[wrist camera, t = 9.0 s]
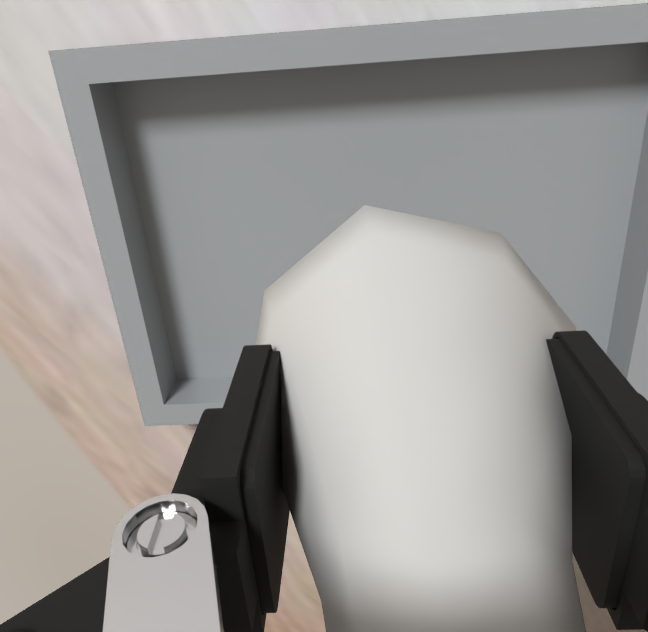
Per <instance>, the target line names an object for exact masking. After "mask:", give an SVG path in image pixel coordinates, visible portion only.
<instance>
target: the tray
mask: <svg viewBox="0 0 648 632" xmlns="http://www.w3.org/2000/svg"><path fill="white" fill-rule="evenodd" d="M49 55H50V59H51V63H52V67H53V70H54V74H55V78H56V82H57V86H58V90H59V94H60V98H61V102H62V106H63V109H64V113H65V117H66V121H67V125H68V129H69V133H70V137H71V141H72V144H73V148H74V152H75V156H76V160H77V164H78V168H79V172H80V176H81V180H82V183H83V187H84V191H85V195H86V199H87V203H88V207H89V211H90V215H91V219H92V222H93V226H94V230H95V234H96V238H97V242H98V246H99V250H100V254H101V258H102V261H103V265H104V269H105V273H106V277H107V281H108V285H109V289H110V293H111V296H112V300H113V304H114V308H115V312H116V316H117V320H118V324H119V328H120V332H121V335H122V339H123V343H124V347H125V351H126V355H127V359H128V363H129V367H130V371H131V374H132V378H133V382H134V386H135V390H136V394H137V398H138V402H139V406H140V409H141V413H142V417H143V421H144V425H145V426H158V425H186V424H198V423H199V421H200V418H201V415H202V413H203V412H204V410H205V409H208V408H223V406H224V403H225V400H226V397H227V394H228V391H229V388H230V385H231V382H232V379H233V376H234V373H235V370H236V367H237V364H238V361H239V358H240V355H241V352H242V349H243V347H244V346H245V345H255V344H256V338H257V332H258V326H259V320H260V314H261V308H262V302H263V295H264V290H266V289H267V288H268V287H269V286H270V285H271V284H273V283H274V282H275V281H276V280H277V279H278V278H280V277H281V276H282V275H283V274H284V273H285V272H287V271H288V270H289V269H290V268H291V267H293V266H294V265H295V264H296V263H297V262H298V261H300V260H301V259H302V258H303V257H304V256H305V255H307V254H308V253H309V252H310V251H311V250H312V249H314V248H315V247H316V246H317V245H318V244H320V243H321V242H322V241H323V240H324V239H325V238H327V237H328V236H329V235H330V234H331V233H332V232H334V231H335V230H336V229H337V228H338V227H339V226H341V225H342V224H343V223H344V222H345V221H347V220H348V219H349V218H350V217H351V216H352V215H354V214H355V213H356V212H357V211H358V210H359V209H361V208H362V207H363V206H364V205H367V206H372V207H377V208H382V209H387V210H392V211H397V212H401V213H406V214H411V215H416V216H421V217H426V218H431V219H436V220H441V221H446V222H450V223H455V224H460V225H465V226H470V227H475V228H480V229H485V230H490V231H495V232H499V233H502V235H503V236H504V237H505V238H506V240H507V241H508V242H509V243H510V245H511V246H512V247H513V248H514V250H515V251H516V252H517V253H518V255H519V256H520V257H521V258H522V260H523V261H524V262H525V263H526V265H527V266H528V267H529V268H530V270H531V271H532V272H533V274H534V275H535V276H536V277H537V279H538V280H539V281H540V282H541V284H542V285H543V286H544V287H545V289H546V290H547V291H548V292H549V294H550V295H551V296H552V297H553V299H554V300H555V301H556V302H557V304H558V305H559V306H560V308H561V309H562V310H563V311H564V313H565V314H566V315H567V316H568V318H569V319H570V320H571V321H572V323H573V324H574V325H575V326H576V331H582V330H586V331H587V332H588V333H589V334H590V335H591V337H592V338H593V339H594V340H595V341H596V343H597V344H598V345H599V346H600V348H601V349H602V350H603V351H604V352H605V354H606V355H607V356H608V357H609V359H610V360H611V361H612V362H613V363H614V365H615V366H616V367H617V368H618V369H619V371H620V372H621V373H622V374H623V376H624V377H625V378H626V379H627V380H628V382H629V383H630V384H631V385H632V387H633V388H634V389H635V390H636V391H637V393H639V394H641V395H642V396H643V397H645V398H646V400H647V401H648V3H645V4H632V5H620V6H607V7H594V8H582V9H569V10H557V11H544V12H532V13H519V14H506V15H494V16H481V17H469V18H456V19H444V20H431V21H419V22H406V23H393V24H381V25H368V26H356V27H343V28H331V29H318V30H305V31H293V32H280V33H268V34H255V35H243V36H230V37H217V38H205V39H192V40H180V41H167V42H155V43H142V44H130V45H117V46H104V47H92V48H79V49H67V50H54V51H49Z"/></svg>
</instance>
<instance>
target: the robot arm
mask: <svg viewBox="0 0 648 632" xmlns="http://www.w3.org/2000/svg"><path fill="white" fill-rule="evenodd" d="M546 342H547V346H548V350H549V353H550V357H551V361H552V365H553V368H554V372H555V376H556V379H557V383H558V387H559V391H560V394H561V398H562V402H563V406H564V409H565V413H566V417H567V421H568V424H569V428H570V431H571V435H572V551H573V554H574V556H575V558H576V561H577V563H578V565H579V567H580V570H581V572H582V574H583V577H584V579H585V581H586V583H587V586H588V588H589V590H590V592H591V595H592V597H593V599H594V601H595V603H596V605H597V606H598V607H600V608H607V609H608V611H609V614H610V616H611V618H612V620H613V622H614V625H615V627H616V629H617V630H630V629H644V630H646V631H648V401H647V400H646V398H645V397H643V396H642V395H641V394H639V393H637V391H636V390H635V389H634V388H633V387H632V385H631V384H630V383H629V382H628V380H627V379H626V378H625V377H624V376H623V374H622V373H621V372H620V371H619V369H618V368H617V367H616V366H615V365H614V363H613V362H612V361H611V360H610V359H609V357H608V356H607V355H606V354H605V352H604V351H603V350H602V349H601V348H600V346H599V345H598V344H597V343H596V341H595V340H594V339H593V338H592V337H591V335H590V334H589V333H588V332H587V331H586V330H582V331H559V332H555V333H554V334H553V337H552V339H546ZM289 511H290V509H289V506H288V503H287V500H286V497H285V494H284V491H283V482H282V427H281V373H280V351H273V349H272V346H271V344H267V345H245V346H244V347H243V349H242V352H241V355H240V358H239V361H238V364H237V367H236V370H235V373H234V376H233V379H232V382H231V385H230V388H229V391H228V394H227V397H226V400H225V403H224V406H223V408H208V409H205V410H204V412H203V413H202V415H201V418H200V421H199V423H198V426H197V428H196V431H195V434H194V436H193V439H192V441H191V444H190V447H189V449H188V452H187V454H186V457H185V459H184V462H183V465H182V467H181V470H180V472H179V475H178V478H177V480H176V483H175V485H174V488H173V490H172V493H171V494H165V495H159V496H156V497H153V498H150V499H147V500H145V501H143V502H141V503H140V504H138V505H136V506H134V507H133V508H132V509H131V510H129V511H128V512H127V513H126V514H125V515H124V516H123V517H122V518H121V519H120V521H119V522H118V524H117V525H116V527H115V529H114V532H113V535H112V539H111V548H110V557H109V558H107V559H105V560H104V561H102V562H101V563H99V564H97V565H96V566H94V567H93V568H91V569H89V570H88V571H86V572H85V573H83V574H81V575H80V576H78V577H76V578H75V579H73V580H72V581H70V582H68V583H67V584H65V585H64V586H62V587H60V588H59V589H57V590H56V591H54V592H52V593H51V594H49V595H48V596H46V597H44V598H43V599H41V600H39V601H38V602H36V603H35V604H33V605H31V606H30V607H28V608H27V609H25V610H23V611H22V612H20V613H19V614H17V615H16V616H14V617H12V618H11V619H9V620H7V621H6V622H4V623H3V624H1V625H0V632H264V627H265V619H266V613H276V612H277V608H278V601H279V593H280V584H281V576H282V568H283V560H284V552H285V543H286V535H287V527H288V519H289Z"/></svg>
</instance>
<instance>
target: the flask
mask: <svg viewBox="0 0 648 632" xmlns="http://www.w3.org/2000/svg"><path fill="white" fill-rule="evenodd" d="M559 331H576V326H575V325H574V324H573V323H572V321H571V320H570V319H569V318H568V316H567V315H566V314H565V313H564V311H563V310H562V309H561V308H560V306H559V305H558V304H557V302H556V301H555V300H554V299H553V297H552V296H551V295H550V294H549V292H548V291H547V290H546V289H545V287H544V286H543V285H542V284H541V282H540V281H539V280H538V279H537V277H536V276H535V275H534V274H533V272H532V271H531V270H530V268H529V267H528V266H527V265H526V263H525V262H524V261H523V260H522V258H521V257H520V256H519V255H518V253H517V252H516V251H515V250H514V248H513V247H512V246H511V245H510V243H509V242H508V241H507V240H506V238H505V237H504V236H503V235H502V233H499V232H495V231H490V230H485V229H480V228H475V227H470V226H465V225H460V224H455V223H450V222H446V221H441V220H436V219H431V218H426V217H421V216H416V215H411V214H406V213H401V212H397V211H392V210H387V209H382V208H377V207H372V206H367V205H364V206H363V207H362V208H361V209H359V210H358V211H357V212H356V213H355V214H354V215H352V216H351V217H350V218H349V219H348V220H347V221H345V222H344V223H343V224H342V225H341V226H339V227H338V228H337V229H336V230H335V231H334V232H332V233H331V234H330V235H329V236H328V237H327V238H325V239H324V240H323V241H322V242H321V243H320V244H318V245H317V246H316V247H315V248H314V249H312V250H311V251H310V252H309V253H308V254H307V255H305V256H304V257H303V258H302V259H301V260H300V261H298V262H297V263H296V264H295V265H294V266H293V267H291V268H290V269H289V270H288V271H287V272H285V273H284V274H283V275H282V276H281V277H280V278H278V279H277V280H276V281H275V282H274V283H273V284H271V285H270V286H269V287H268V288H267V289H266V290H264V295H263V302H262V308H261V314H260V320H259V326H258V332H257V338H256V344H255V345H267V344H271V346H272V349H273V351H280V373H281V427H282V482H283V491H284V494H285V497H286V500H287V503H288V506H289V509H290V512H291V514H292V517H293V520H294V523H295V526H296V529H297V532H298V535H299V538H300V541H301V543H302V546H303V549H304V552H305V555H306V558H307V561H308V564H309V567H310V569H311V572H312V575H313V578H314V581H315V584H316V587H317V590H318V593H319V596H320V598H321V602H322V608H323V615H324V621H325V627H326V632H586V630H585V625H584V619H583V614H582V609H581V604H580V599H579V594H578V589H577V584H576V579H575V574H574V568H573V563H572V435H571V431H570V428H569V424H568V421H567V417H566V413H565V409H564V406H563V402H562V398H561V394H560V391H559V387H558V383H557V379H556V376H555V372H554V368H553V365H552V361H551V357H550V353H549V350H548V346H547V342H546V339H552V337H553V334H554V333H555V332H559Z"/></svg>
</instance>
